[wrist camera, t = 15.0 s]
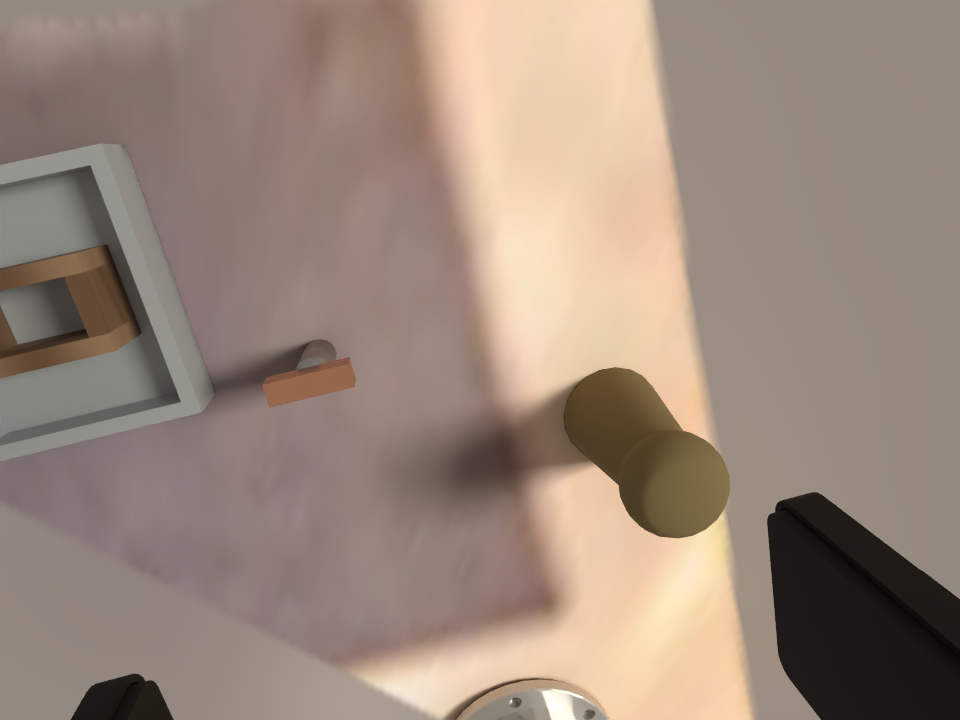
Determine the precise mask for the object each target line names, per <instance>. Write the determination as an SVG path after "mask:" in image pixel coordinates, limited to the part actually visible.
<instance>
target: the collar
mask: <svg viewBox="0 0 960 720" xmlns="http://www.w3.org/2000/svg"><path fill="white" fill-rule="evenodd" d="M61 277H64V278H65V281H66V283H67V286H68V288H69V290H70V293H71V295H72V298H73V300H74V302H75V305H76V307H77V310H78V312H79V314H80V317H81V319H82V322H83V324H84V326H85V329H82V330H78V331H74V332H70V333H65V334H61V335H57V336H52V337H48V338H44V339H39V340H35V341H31V342H27V343H22V344H18V343H17V341H16V339H15V337H14V335H13V332H12V330H11V328H10V326H9V324H8V321H7V319H6V317H5V315H4V313H3V310H2V308H1V306H0V378H4V377H8V376H12V375H17V374H21V373H25V372H29V371H34V370H38V369H42V368H46V367H51V366H55V365H59V364H63V363H68V362H72V361H76V360H80V359H85V358H89V357H93V356H97V355H102V354H106V353H110V352H114V351H117V350H118V349H120V348H121V347H122V346H124V345H125V344H127V343H128V342H130V341H131V340H133V339H134V338H136V337H137V336H139V335H140V334H141V333H142V332H141V330H140V327H139V325H138V322H137V319H136V317H135V314H134V312H133V309H132V307H131V304H130V302H129V299H128V296H127V294H126V291H125V289H124V286H123V284H122V281H121V278H120V276H119V273H118V271H117V268H116V266H115V263H114V260H113V258H112V255H111V253H110V250H109V248H108V245H107V244H106V245H102V246H97V247H93V248H88V249H84V250H79V251H75V252H71V253H66V254H62V255H57V256H53V257H48V258H44V259H39V260H35V261H31V262H26V263H22V264H17V265H13V266H8V267H4V268H0V291H3V290H8V289H12V288H17V287H21V286H25V285H30V284H34V283H39V282H43V281H47V280H52V279H56V278H61Z"/></svg>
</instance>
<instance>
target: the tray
mask: <svg viewBox="0 0 960 720" xmlns="http://www.w3.org/2000/svg"><path fill="white" fill-rule="evenodd" d="M106 244H107V245H108V248H109V250H110V253H111V255H112V258H113V260H114V263H115V266H116V268H117V271H118V273H119V276H120V278H121V281H122V284H123V286H124V289H125V291H126V294H127V296H128V299H129V302H130V304H131V307H132V309H133V312H134V314H135V317H136V319H137V322H138V325H139V327H140V330H141V332H142V333H141V334H140V335H139V336H137V337H136V338H134V339H133V340H131V341H130V342H128V343H127V344H125V345H124V346H122V347H121V348H120V349H118V350H117V351H114V352H110V353H106V354H102V355H97V356H93V357H89V358H85V359H80V360H76V361H72V362H68V363H63V364H59V365H55V366H51V367H46V368H42V369H38V370H34V371H29V372H25V373H21V374H17V375H12V376H8V377H4V378H0V461H4V460H8V459H12V458H16V457H20V456H24V455H28V454H33V453H37V452H41V451H45V450H49V449H53V448H57V447H61V446H65V445H70V444H74V443H78V442H82V441H86V440H90V439H94V438H98V437H102V436H107V435H111V434H115V433H119V432H123V431H127V430H131V429H135V428H139V427H144V426H148V425H152V424H156V423H160V422H164V421H168V420H172V419H176V418H181V417H185V416H189V415H193V414H197V413H201V412H202V411H203V410H204V409H205V407H206V406H207V405H208V403H209V402H210V401H211V399H212V398H213V397H214V395H215V392H214V389H213V386H212V384H211V381H210V378H209V375H208V373H207V370H206V367H205V364H204V362H203V359H202V356H201V353H200V351H199V348H198V345H197V342H196V340H195V337H194V334H193V331H192V329H191V326H190V323H189V321H188V318H187V315H186V312H185V310H184V307H183V304H182V301H181V299H180V296H179V293H178V290H177V288H176V285H175V282H174V279H173V277H172V274H171V271H170V268H169V266H168V263H167V260H166V257H165V255H164V252H163V249H162V246H161V244H160V241H159V238H158V235H157V233H156V230H155V227H154V224H153V222H152V219H151V216H150V213H149V211H148V208H147V205H146V202H145V200H144V197H143V194H142V191H141V189H140V186H139V183H138V180H137V178H136V175H135V172H134V169H133V167H132V164H131V161H130V158H129V156H128V153H127V150H126V147H125V145H116V144H102V143H101V144H96V145H92V146H87V147H82V148H78V149H73V150H68V151H64V152H59V153H54V154H50V155H45V156H40V157H36V158H31V159H26V160H22V161H17V162H12V163H8V164H3V165H0V268H4V267H8V266H13V265H17V264H22V263H26V262H31V261H35V260H39V259H44V258H48V257H53V256H57V255H62V254H66V253H71V252H75V251H79V250H84V249H88V248H93V247H97V246H102V245H106ZM0 306H1V308H2V310H3V313H4V315H5V317H6V319H7V321H8V324H9V326H10V328H11V330H12V332H13V335H14V337H15V339H16V341H17V343H18V344H22V343H27V342H31V341H35V340H39V339H44V338H48V337H52V336H57V335H61V334H65V333H70V332H74V331H78V330H82V329H85V326H84V324H83V322H82V319H81V317H80V314H79V312H78V310H77V307H76V305H75V302H74V300H73V298H72V295H71V293H70V290H69V288H68V286H67V283H66V281H65V278H64V277H61V278H56V279H52V280H47V281H43V282H39V283H34V284H30V285H25V286H21V287H17V288H12V289H8V290H3V291H0Z"/></svg>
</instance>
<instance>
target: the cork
mask: <svg viewBox="0 0 960 720" xmlns="http://www.w3.org/2000/svg"><path fill="white" fill-rule="evenodd" d="M564 422H565V430H566V432H567V434H568V436H569V438H570V441H571V442H572V443H573V444H574V445H575V446H576V447H577V448H578V449H579V450H580V451H581V452H582V453H583V454H584V455H585V456H587V457H588V458H589V459H590V460H591V461H592V462H593V463H594V464H596V465H597V466H598V467H599V468H600V469H601V470H602V471H603V472H605V473H606V474H607V475H608V476H609V477H610V478H611V479H612V480H614V481H615V482H616V483H617V484H618V485H619V492H620V497H621V500H622V502H623V504H624V506H625V508H626V511H627V512H628V514H629V515H630V517H631V518H632V519H633V520H634V521H635V522H636V523H637V524H638V525H639V526H640V527H642V528H643V529H645V530H646V531H648V532H651V533H653V534H655V535H657V536H660V537H670V538H683V537H688V536H693V535H695V534H697V533H699V532H701V531H703V530H705V529H707V528H708V527H709V526H710V525H711V524H713V523H714V522H715V521H716V520H717V519H718V517H719V516H720V514H721V513H722V511H723V510H724V508H725V506H726V503H727V500H728V496H729V491H730V486H729V485H730V484H729V473H728V471H727V468H726V466H725V463H724V461H723V459H722V457H721V455H720V454H719V453H718V452H717V451H716V450H715V449H714V448H713V446H712V445H711V444H709V443H708V442H707V441H706V440H704V439H702V438H700V437H698V436H696V435H694V434H692V433H689V432H685V431H683V430H682V429H681V427H680V426H679V424H678V423H677V421H676V420H675V419H674V417H673V416H672V414H671V413H670V411H669V410H668V408H667V407H666V406H665V404H664V403H663V401H662V400H661V398H660V397H659V395H658V394H657V392H656V391H655V390H654V388H653V387H652V386H651V384H650V383H649V382H648V381H647V380H646V379H645V378H644V377H643V376H642V375H640V374H638V373H636V372H634V371H632V370H630V369H623V368H616V367H615V368H609V369H603V370H600V371H597V372H595V373H593V374H591V375H589V376H587V377H586V378H585V379H584V380H583V381H582V382H581V383H579V384H578V385H577V386H576V387H575V389H574V390H573V392H572V394H571V395H570V397H569V399H568V400H567V404H566V408H565V412H564Z"/></svg>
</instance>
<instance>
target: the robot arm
mask: <svg viewBox="0 0 960 720" xmlns="http://www.w3.org/2000/svg"><path fill="white" fill-rule="evenodd" d="M767 525H768V537H769V549H770V561H771V573H772V584H773V596H774V608H775V621H776V632H777V645H778V654H779V658H780V661H781V664H782V666H783V669H784V671H785V672H786V674H787V676H788V677H789V679H790V680H791V681H792V683H793V684H794V685H795V687H796V688H797V689H798V691H799V692H800V693H801V694H802V696H803V697H804V698H805V700H806V701H807V702H808V703H809V705H810V706H811V707H812V708H813V710H814V711H815V712H816V714H817V715H818V716H819V717H820V719H821V720H960V599H959V598H957V597H956V596H955V595H953V594H952V593H951V592H950V591H948V590H947V589H946V588H944V587H943V586H941V585H940V584H939V583H938V582H936V581H935V580H934V579H932V578H931V577H930V576H928V575H927V574H926V573H925V572H923V571H921V570H920V569H918V568H917V567H916V566H914V565H913V564H912V563H910V562H909V561H908V560H906V559H905V558H904V557H902V556H901V555H900V554H899V553H897V552H896V551H894V550H893V549H892V548H891V547H889V546H888V545H887V544H885V543H884V542H883V541H882V540H880V539H879V538H877V537H876V536H875V535H874V534H872V533H871V532H870V531H868V530H867V529H866V528H864V527H863V526H862V525H861V524H859V523H858V522H857V521H855V520H854V519H853V518H851V517H850V516H849V515H848V514H846V513H845V512H843V511H842V510H841V509H840V508H838V507H837V506H836V505H834V504H833V503H832V502H830V501H829V500H828V499H827V498H825V497H824V496H822V495H821V494H819V493H816V492H815V493H814V492H812V493H808V494H804V495H801V496H797V497H794V498H789V499H786V500H782V501H779V502H778V503H777V505H776V508H775V513H772V514H770V515H769V516H768V520H767ZM71 720H173V718H172V716H171V714H170V711H169V709H168V707H167V705H166V703H165V700H164V698H163V696H162V694H161V692H160V690H159V687H158V686H157V684H156V683H155V682H154V681H145V680H144V678H143V677H142V676H140V675H139V674H131V675H127V676H123V677H119V678H116V679H112V680H108V681H104V682H101V683H97V684H95V685H93V686H91V687H90V689H89V690H88V691H87V692H86V694H85V696H84V698H83V699H82V701H81V703H80V705H79V706H78V708H77V710H76V712H75V713H74V715H73V717H72V719H71ZM456 720H609V717H608V715H607V713H606V711H605V709H604V708H603V707H602V706H601V704H600V703H599V702H598V701H597V700H596V699H595V698H594V697H593V696H591V695H590V694H589V693H587V692H586V691H584V690H582V689H580V688H578V687H576V686H574V685H571V684H567V683H564V682H560V681H553V680H528V681H521V682H517V683H513V684H508V685H505V686H503V687H500V688H498V689H495V690H493V691H491V692H489V693H487V694H486V695H484V696H482V697H481V698H479V699H477V700H476V701H474V702H473V703H472V704H471V705H470V706H469V707H467V708H466V709H465V710H464V711H463V712H462V713H461V714H460V715H459V717H458V718H457V719H456Z"/></svg>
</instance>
